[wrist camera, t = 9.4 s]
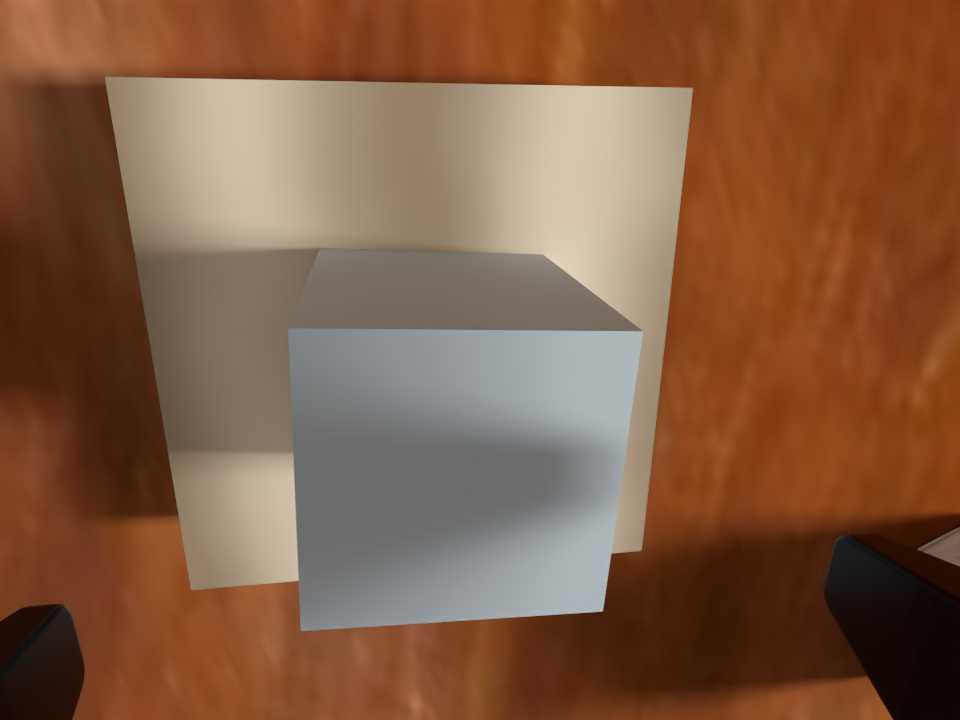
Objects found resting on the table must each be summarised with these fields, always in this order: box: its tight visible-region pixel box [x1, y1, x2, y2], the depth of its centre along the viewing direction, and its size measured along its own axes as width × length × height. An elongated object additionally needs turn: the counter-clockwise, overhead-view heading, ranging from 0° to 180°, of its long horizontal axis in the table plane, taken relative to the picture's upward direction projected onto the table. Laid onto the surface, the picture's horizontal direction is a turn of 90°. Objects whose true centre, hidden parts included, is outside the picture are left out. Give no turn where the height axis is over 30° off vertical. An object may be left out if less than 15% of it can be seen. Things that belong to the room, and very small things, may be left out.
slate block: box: [288, 248, 643, 631], centre depth 13 cm, size 5×5×6 cm
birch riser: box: [105, 77, 693, 590], centre depth 17 cm, size 12×12×4 cm
